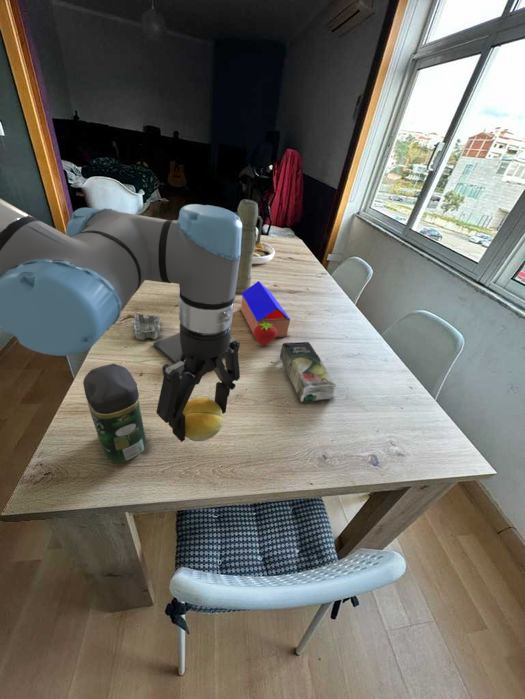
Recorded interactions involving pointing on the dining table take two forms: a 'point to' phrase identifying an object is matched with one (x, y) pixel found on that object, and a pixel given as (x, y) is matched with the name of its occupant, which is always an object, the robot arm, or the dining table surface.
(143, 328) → the egg carton
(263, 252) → the bowl
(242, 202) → the thermos
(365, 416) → the dining table surface
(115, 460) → the coffee jar
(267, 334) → the strawberry
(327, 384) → the juice carton
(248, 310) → the house
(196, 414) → the bread roll
